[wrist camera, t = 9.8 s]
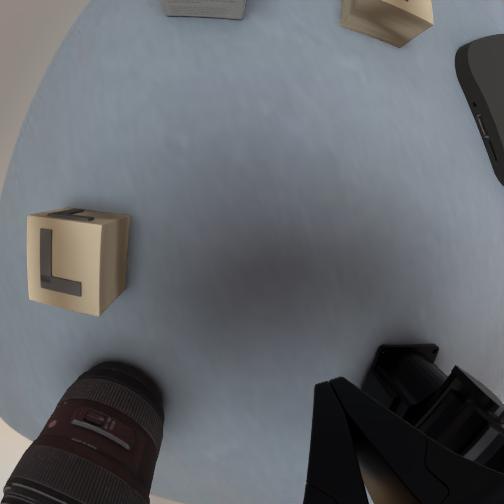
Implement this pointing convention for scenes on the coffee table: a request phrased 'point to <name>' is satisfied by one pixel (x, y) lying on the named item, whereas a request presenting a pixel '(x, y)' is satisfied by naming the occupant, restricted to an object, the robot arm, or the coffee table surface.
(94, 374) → the camera lens
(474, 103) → the media streaming box
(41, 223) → the marked block left
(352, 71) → the coffee table surface
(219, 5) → the small box
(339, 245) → the coffee table surface
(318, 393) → the robot arm
